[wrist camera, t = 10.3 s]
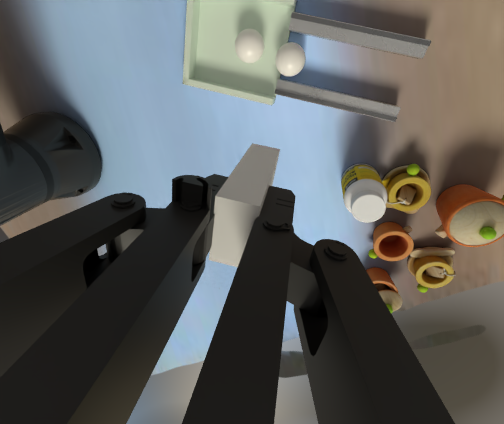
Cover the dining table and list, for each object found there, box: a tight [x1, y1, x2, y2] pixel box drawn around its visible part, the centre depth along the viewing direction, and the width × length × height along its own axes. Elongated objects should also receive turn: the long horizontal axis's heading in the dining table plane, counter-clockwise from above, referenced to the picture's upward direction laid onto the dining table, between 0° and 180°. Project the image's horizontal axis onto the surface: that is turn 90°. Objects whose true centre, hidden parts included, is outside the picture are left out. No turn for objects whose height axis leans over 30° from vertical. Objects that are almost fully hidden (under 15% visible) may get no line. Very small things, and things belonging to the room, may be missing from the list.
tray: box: [183, 0, 297, 105], centre depth 36 cm, size 13×12×2 cm
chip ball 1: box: [235, 29, 264, 63], centre depth 35 cm, size 4×4×4 cm
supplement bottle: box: [341, 164, 387, 222], centre depth 38 cm, size 5×5×10 cm
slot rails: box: [275, 12, 431, 122], centre depth 34 cm, size 16×9×2 cm, turn 79°
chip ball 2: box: [275, 42, 305, 76], centre depth 35 cm, size 4×4×4 cm
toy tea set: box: [366, 164, 504, 313], centre depth 41 cm, size 26×16×10 cm, turn 178°
